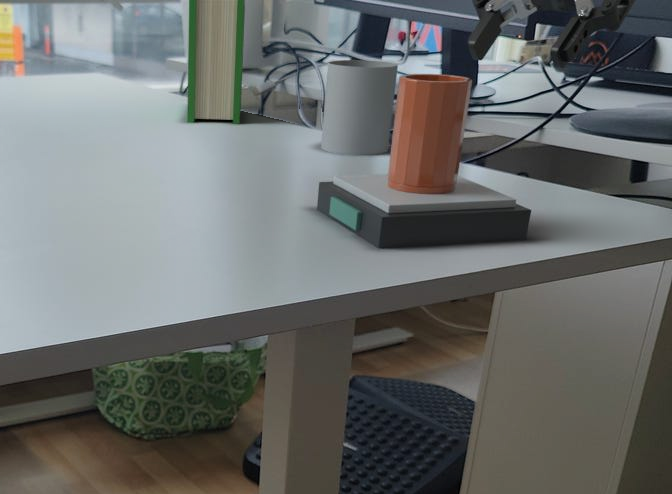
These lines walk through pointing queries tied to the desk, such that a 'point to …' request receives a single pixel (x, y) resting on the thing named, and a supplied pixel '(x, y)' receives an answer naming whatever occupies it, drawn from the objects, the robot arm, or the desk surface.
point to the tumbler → (428, 133)
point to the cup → (358, 106)
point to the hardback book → (215, 59)
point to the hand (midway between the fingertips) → (513, 57)
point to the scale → (421, 213)
